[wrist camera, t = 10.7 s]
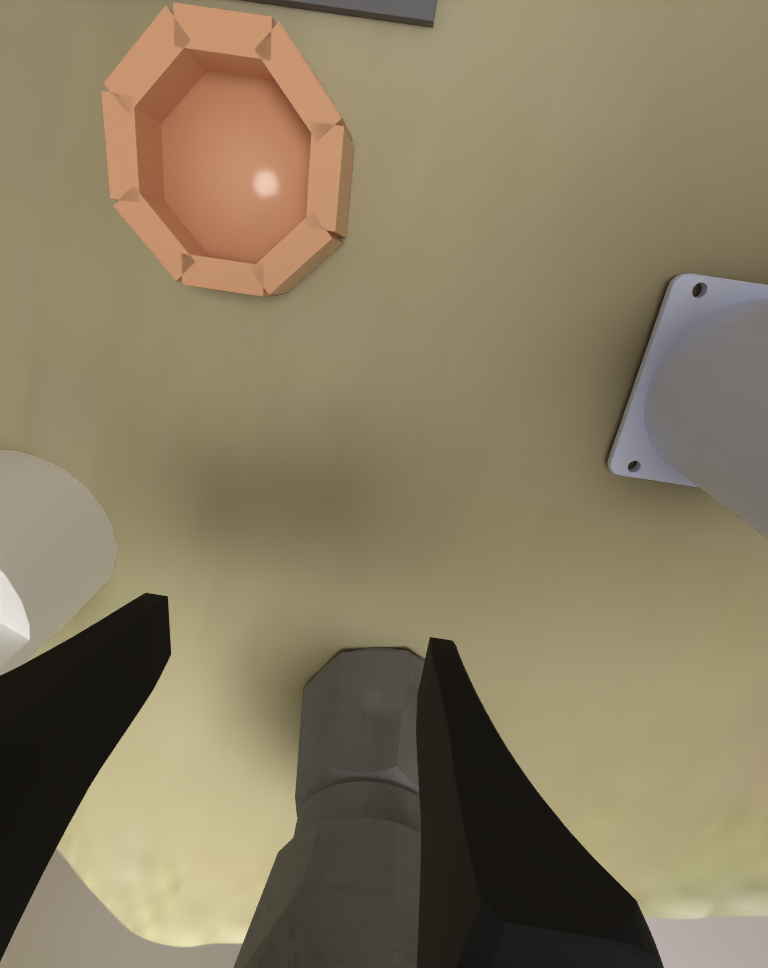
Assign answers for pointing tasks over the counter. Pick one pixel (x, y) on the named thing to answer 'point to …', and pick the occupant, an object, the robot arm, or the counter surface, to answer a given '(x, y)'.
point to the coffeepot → (349, 825)
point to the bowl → (227, 152)
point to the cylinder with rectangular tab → (46, 553)
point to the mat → (370, 9)
